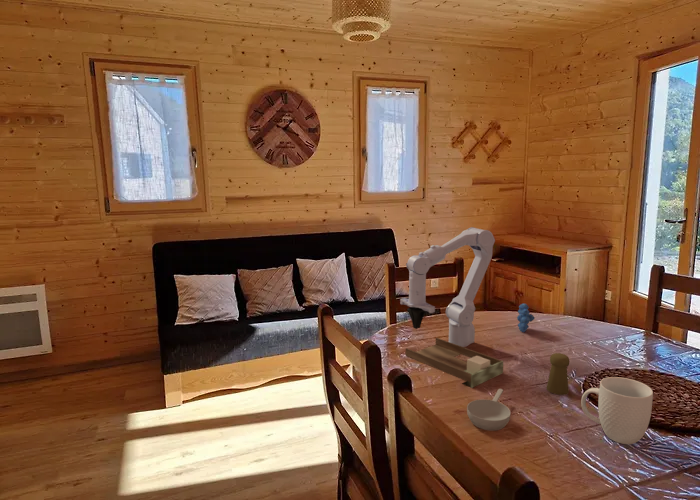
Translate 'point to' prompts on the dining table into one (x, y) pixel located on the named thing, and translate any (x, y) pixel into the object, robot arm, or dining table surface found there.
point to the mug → (622, 408)
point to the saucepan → (489, 413)
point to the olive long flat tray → (456, 362)
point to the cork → (558, 374)
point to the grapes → (524, 317)
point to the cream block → (477, 364)
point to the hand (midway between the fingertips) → (416, 327)
